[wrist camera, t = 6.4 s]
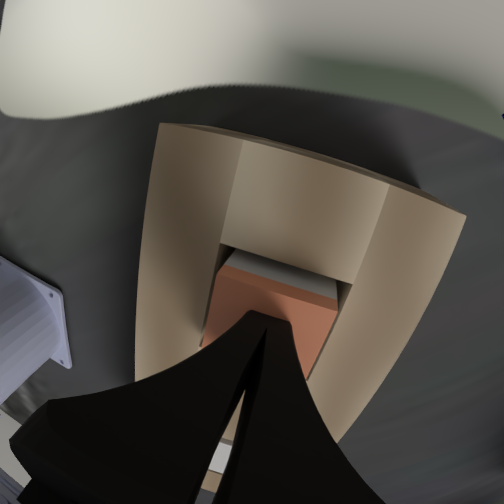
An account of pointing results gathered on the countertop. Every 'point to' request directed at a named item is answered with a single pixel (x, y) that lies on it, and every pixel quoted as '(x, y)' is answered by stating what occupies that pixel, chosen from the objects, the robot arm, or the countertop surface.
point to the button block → (287, 254)
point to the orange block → (274, 300)
